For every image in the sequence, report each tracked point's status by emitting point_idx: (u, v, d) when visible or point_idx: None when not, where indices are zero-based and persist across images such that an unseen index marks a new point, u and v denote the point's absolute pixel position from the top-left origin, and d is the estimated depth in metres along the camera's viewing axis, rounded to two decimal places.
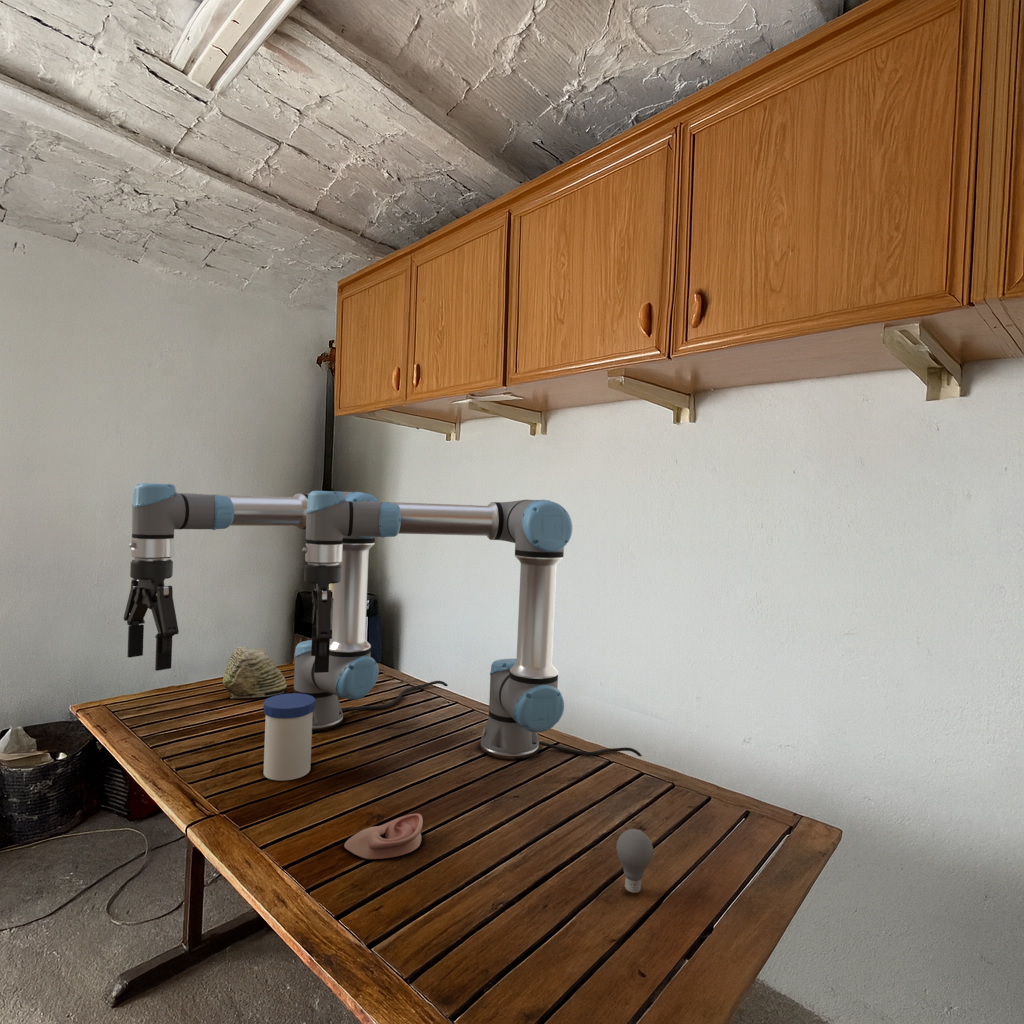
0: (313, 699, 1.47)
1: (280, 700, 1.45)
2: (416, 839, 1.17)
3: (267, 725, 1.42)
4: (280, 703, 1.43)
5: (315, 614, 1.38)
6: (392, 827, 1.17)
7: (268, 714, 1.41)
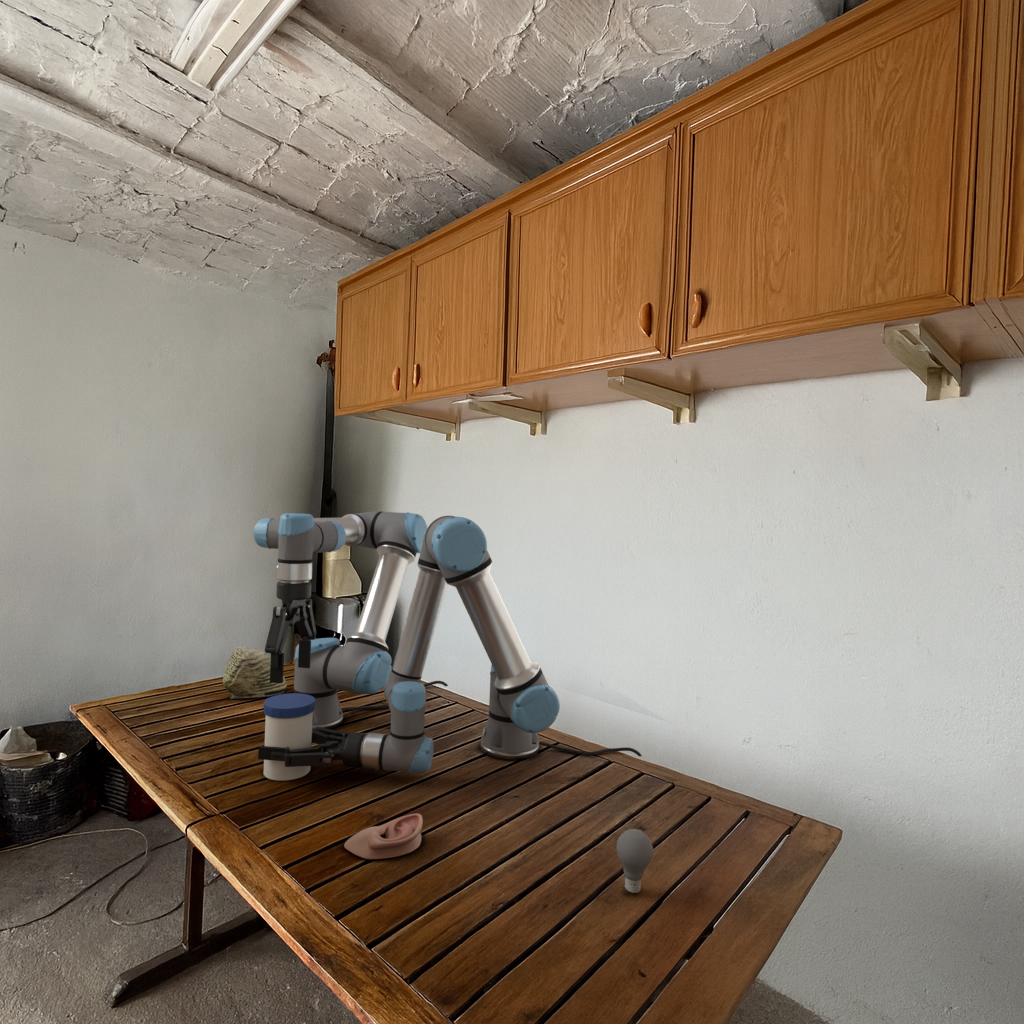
0: (313, 699, 1.47)
1: (280, 700, 1.45)
2: (416, 839, 1.17)
3: (267, 725, 1.42)
4: (280, 703, 1.43)
5: None
6: (392, 827, 1.17)
7: (268, 714, 1.41)
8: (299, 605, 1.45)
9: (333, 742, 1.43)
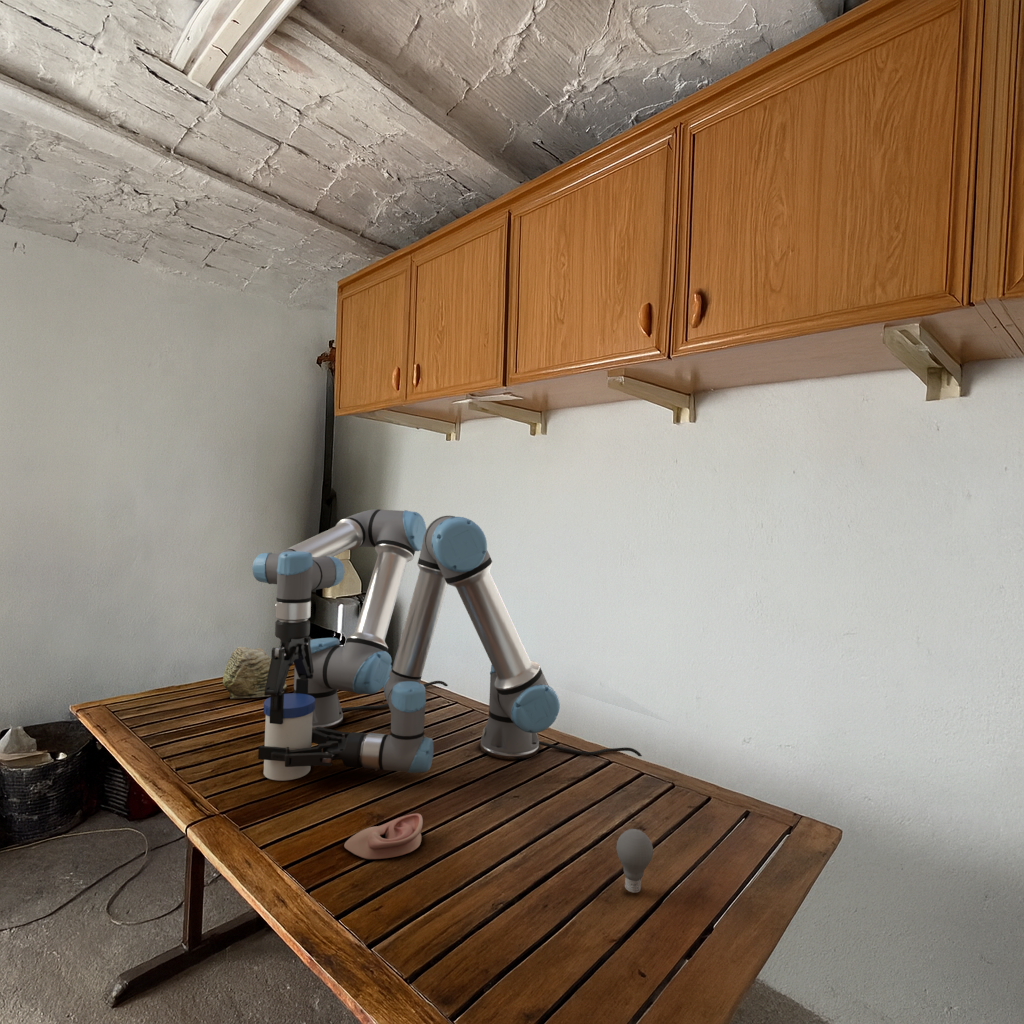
0: (313, 699, 1.47)
1: None
2: (416, 839, 1.17)
3: (267, 725, 1.42)
4: None
5: None
6: (392, 827, 1.17)
7: (268, 714, 1.41)
8: (298, 643, 1.45)
9: (333, 742, 1.43)
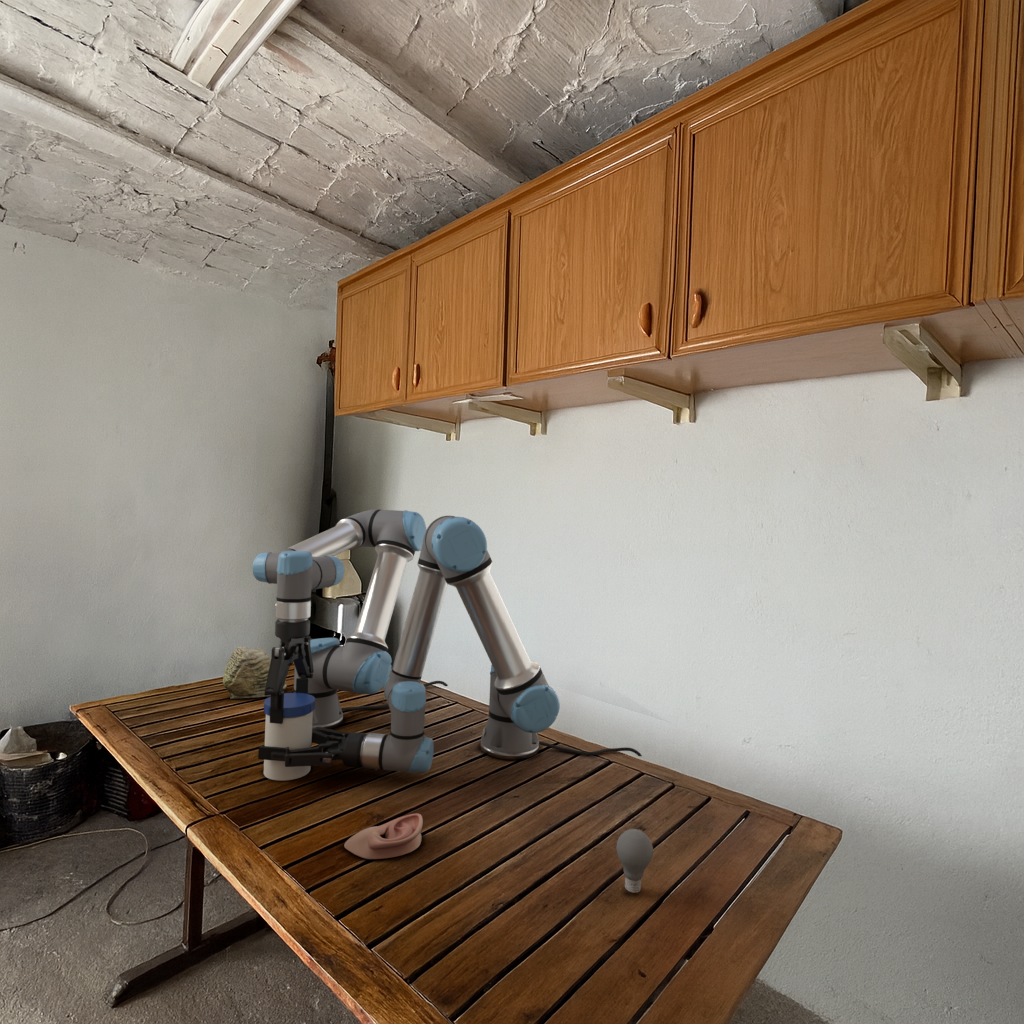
0: (289, 693, 1.50)
1: (289, 703, 1.43)
2: (416, 839, 1.17)
3: (267, 725, 1.42)
4: (298, 702, 1.44)
5: None
6: (392, 827, 1.17)
7: (306, 712, 1.42)
8: (298, 643, 1.45)
9: (333, 742, 1.43)
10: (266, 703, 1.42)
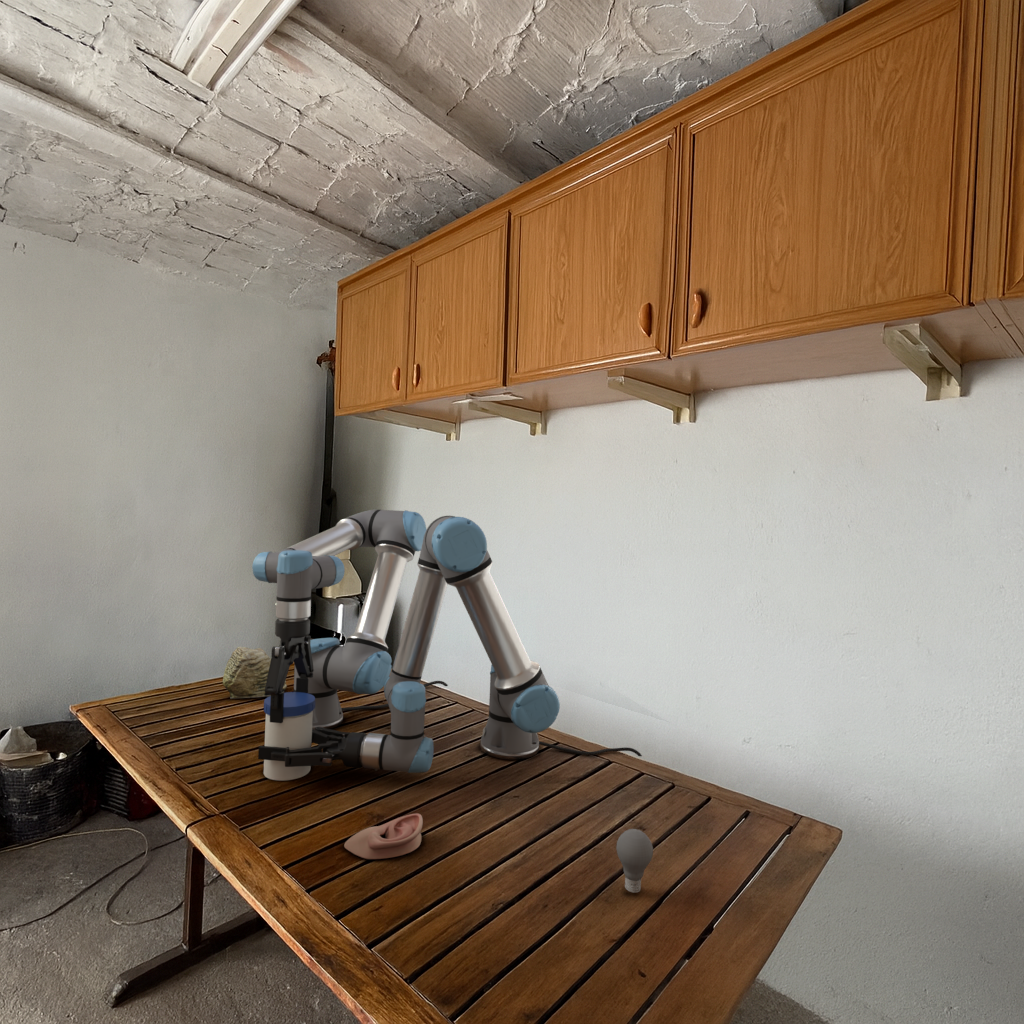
0: (265, 701, 1.43)
1: (299, 698, 1.46)
2: (416, 839, 1.17)
3: (267, 725, 1.42)
4: (297, 696, 1.48)
5: None
6: (392, 827, 1.17)
7: None
8: (298, 642, 1.45)
9: (333, 742, 1.43)
10: (298, 705, 1.41)
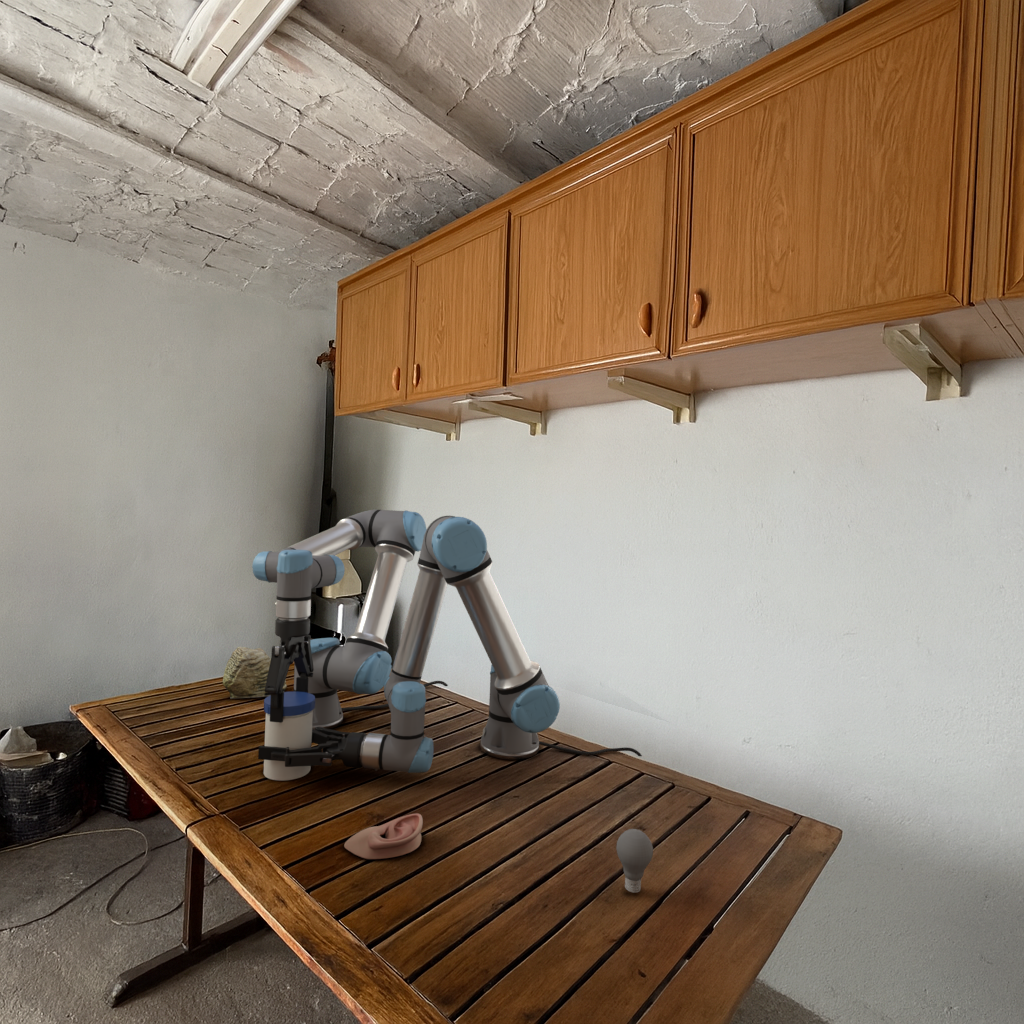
0: (294, 705, 1.41)
1: (289, 695, 1.47)
2: (416, 839, 1.17)
3: (267, 725, 1.42)
4: None
5: None
6: (392, 827, 1.17)
7: None
8: (298, 641, 1.45)
9: (333, 742, 1.43)
10: (311, 694, 1.49)
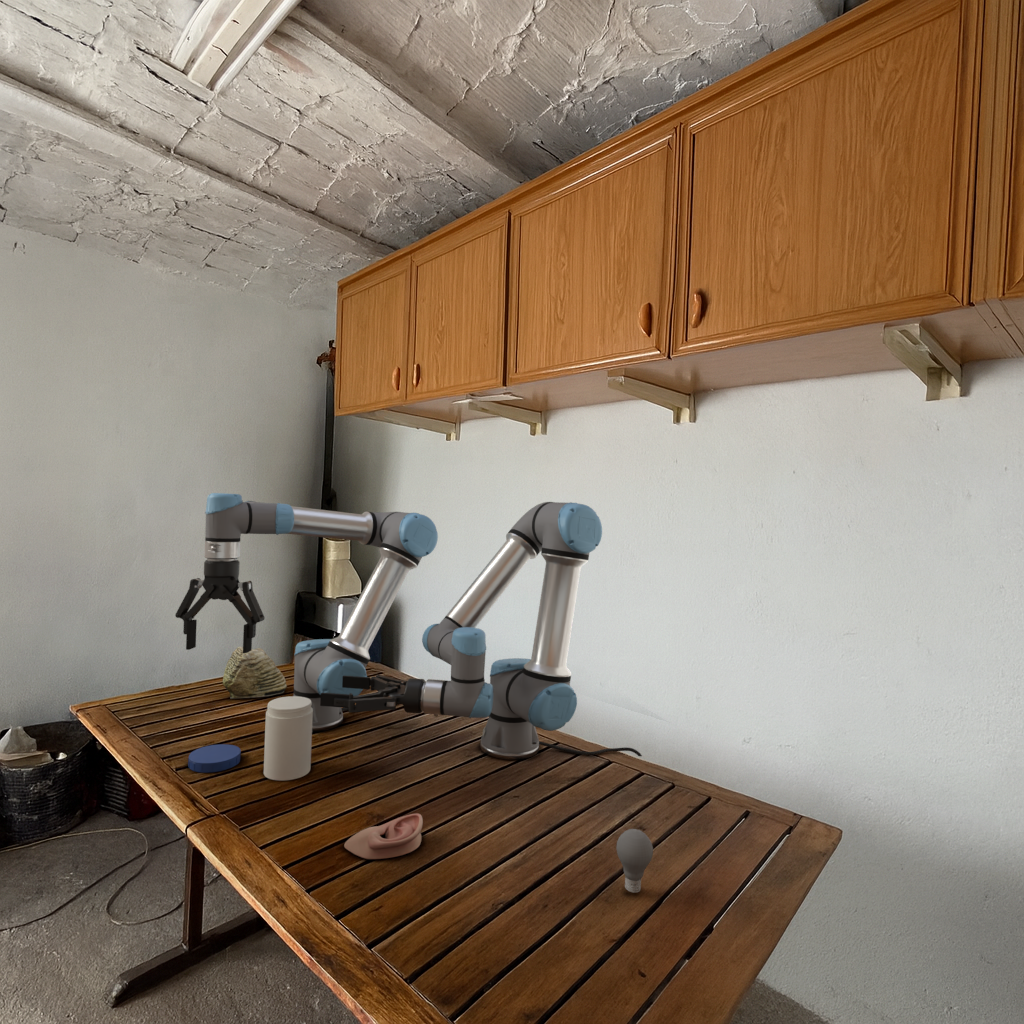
0: (238, 749, 1.51)
1: (204, 754, 1.47)
2: (416, 839, 1.17)
3: (267, 725, 1.42)
4: (207, 757, 1.46)
5: None
6: (392, 827, 1.17)
7: (196, 770, 1.43)
8: None
9: (392, 687, 1.42)
10: (205, 746, 1.52)
